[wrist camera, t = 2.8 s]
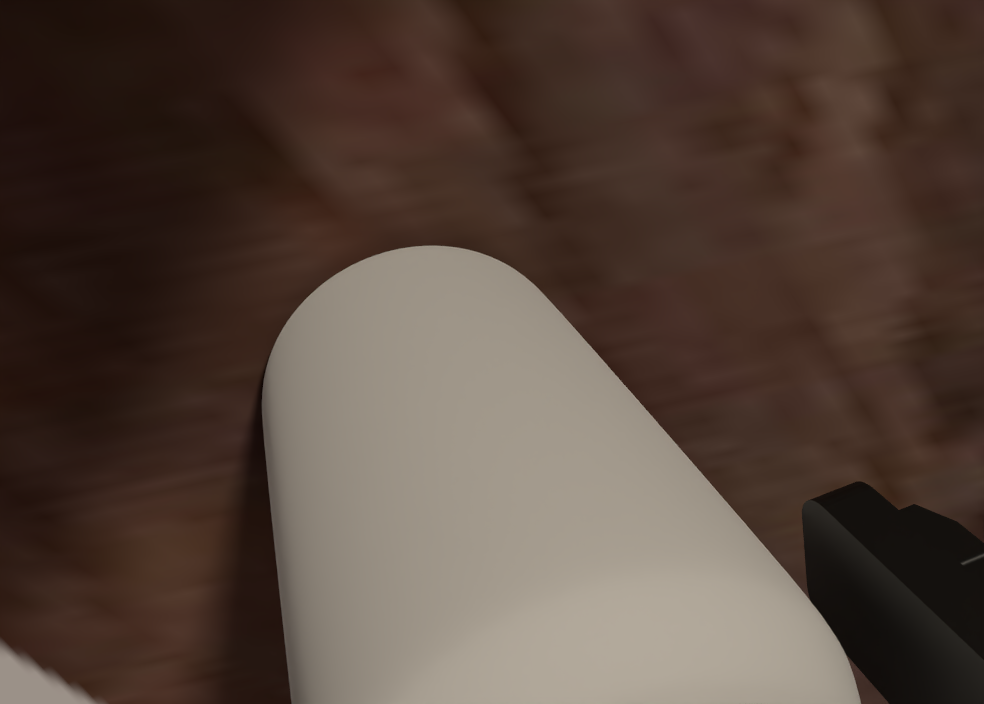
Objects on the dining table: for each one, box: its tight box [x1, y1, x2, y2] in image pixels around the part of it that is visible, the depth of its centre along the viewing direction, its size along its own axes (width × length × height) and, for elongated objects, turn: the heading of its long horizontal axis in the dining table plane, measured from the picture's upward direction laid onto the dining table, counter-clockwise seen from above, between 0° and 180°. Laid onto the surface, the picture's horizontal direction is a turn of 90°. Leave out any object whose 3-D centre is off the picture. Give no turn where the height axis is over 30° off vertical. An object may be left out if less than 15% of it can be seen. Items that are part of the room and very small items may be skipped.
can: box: [262, 246, 861, 704], centre depth 14 cm, size 6×6×12 cm
